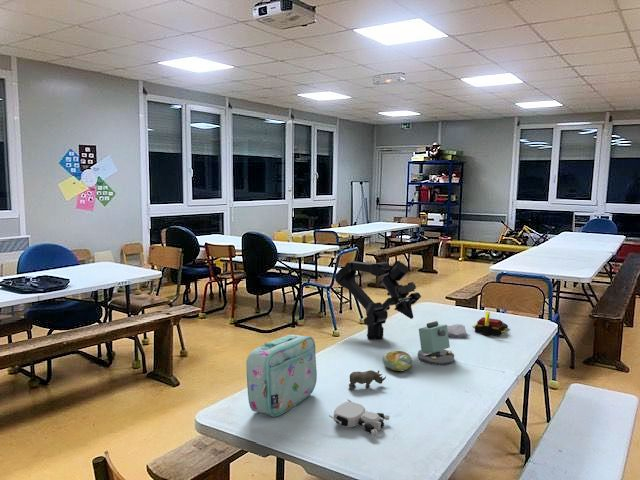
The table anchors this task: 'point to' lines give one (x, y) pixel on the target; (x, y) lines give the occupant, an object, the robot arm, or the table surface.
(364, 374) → the rhino figurine
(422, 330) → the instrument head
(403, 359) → the cell model
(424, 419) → the table surface
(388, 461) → the table surface
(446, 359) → the dark grey disc
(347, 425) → the robot toy
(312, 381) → the lunch box
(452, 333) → the stone block
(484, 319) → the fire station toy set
